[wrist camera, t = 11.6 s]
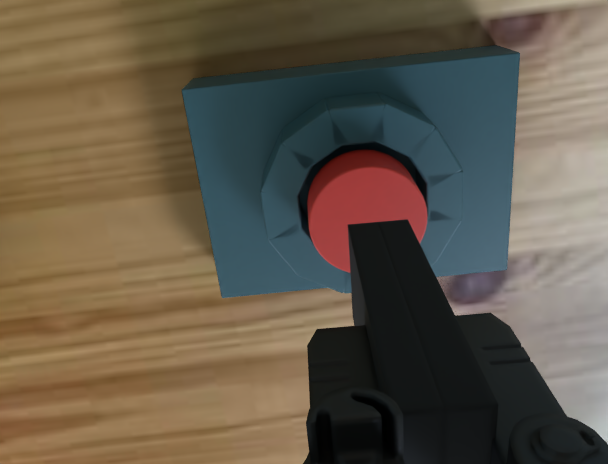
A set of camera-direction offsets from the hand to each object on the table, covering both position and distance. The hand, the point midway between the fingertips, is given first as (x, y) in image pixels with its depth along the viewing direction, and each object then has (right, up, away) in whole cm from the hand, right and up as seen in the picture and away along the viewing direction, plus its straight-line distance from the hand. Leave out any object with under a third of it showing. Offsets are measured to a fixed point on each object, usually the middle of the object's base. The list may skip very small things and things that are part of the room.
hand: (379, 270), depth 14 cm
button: (0, +2, +4) cm, 5 cm away
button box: (0, +3, +7) cm, 8 cm away
